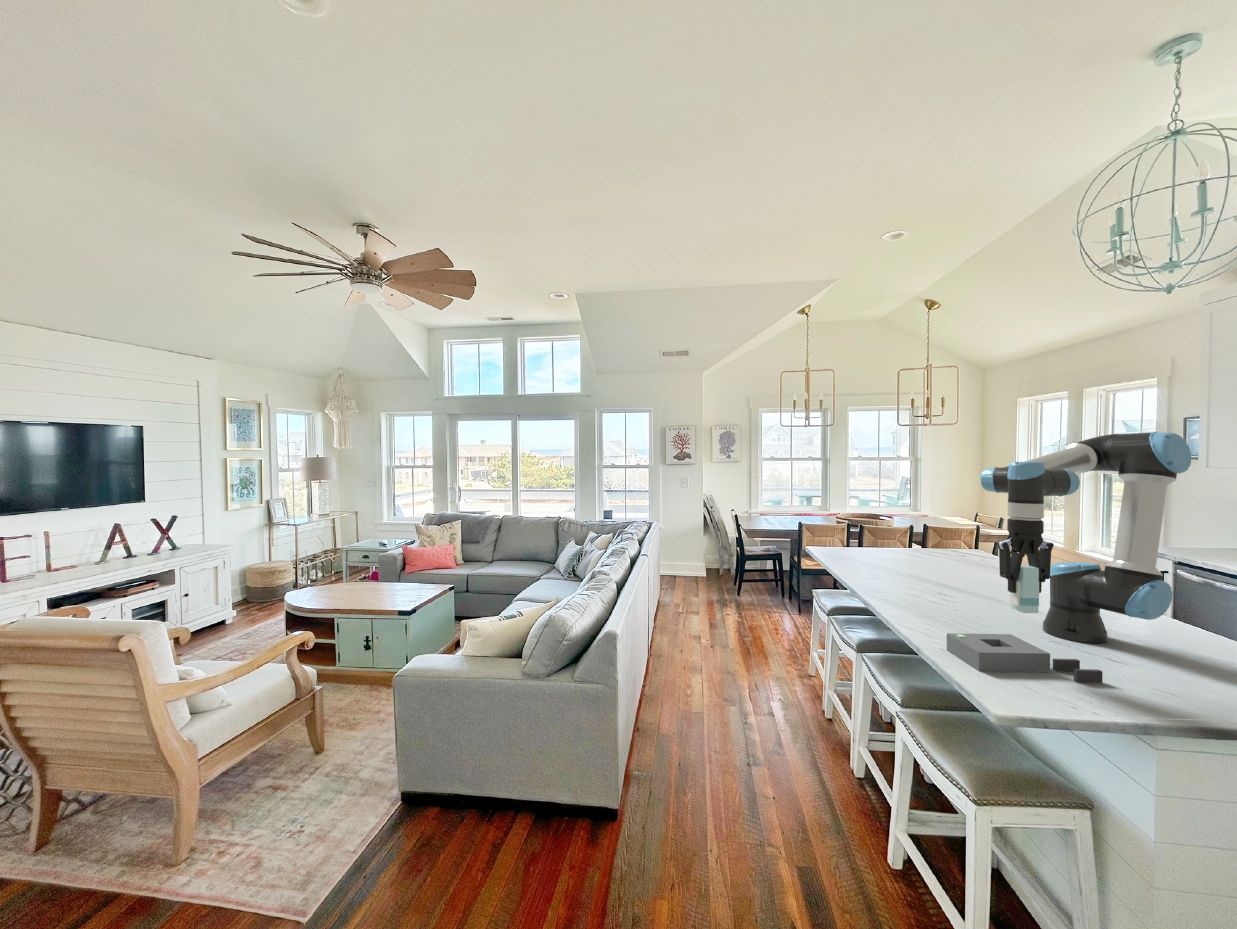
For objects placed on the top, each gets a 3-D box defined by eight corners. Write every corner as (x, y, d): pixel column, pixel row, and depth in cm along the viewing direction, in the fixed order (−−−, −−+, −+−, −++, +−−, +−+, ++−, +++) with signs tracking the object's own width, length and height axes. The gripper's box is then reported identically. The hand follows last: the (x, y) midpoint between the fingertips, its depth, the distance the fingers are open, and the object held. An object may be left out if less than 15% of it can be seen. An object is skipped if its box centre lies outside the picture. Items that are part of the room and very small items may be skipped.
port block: (1010, 651, 142) (1010, 633, 142) (1050, 672, 128) (1050, 652, 128) (946, 650, 143) (946, 632, 143) (978, 671, 129) (978, 651, 129)
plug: (1026, 608, 133) (1026, 564, 133) (1038, 613, 129) (1039, 568, 129) (1010, 608, 133) (1011, 564, 133) (1022, 613, 129) (1023, 568, 129)
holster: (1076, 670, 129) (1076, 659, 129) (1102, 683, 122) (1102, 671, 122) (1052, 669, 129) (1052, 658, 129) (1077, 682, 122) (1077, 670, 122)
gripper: (1045, 516, 134) (1044, 600, 135) (982, 516, 135) (982, 600, 135) (1070, 520, 127) (1069, 609, 127) (1003, 520, 127) (1002, 608, 128)
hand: (1024, 604), depth 131 cm, fingers closed on plug, 4 cm apart
